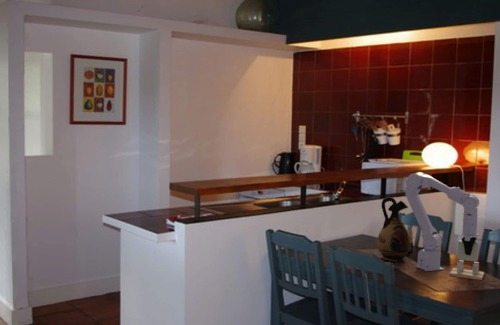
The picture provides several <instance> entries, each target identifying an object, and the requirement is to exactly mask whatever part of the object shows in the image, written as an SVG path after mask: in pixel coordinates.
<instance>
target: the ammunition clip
mask: <svg viewBox="0 0 500 325" xmlns="http://www.w3.org/2000/svg"><path fill="white" fill-rule="evenodd" d="M407 231H408V233H409V236H410V242H411V247H410V250H409V252H412V253H414V239H413V238H414V236H413V233H414V232H413V228H411V229H410V230H409V228H407Z"/></svg>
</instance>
